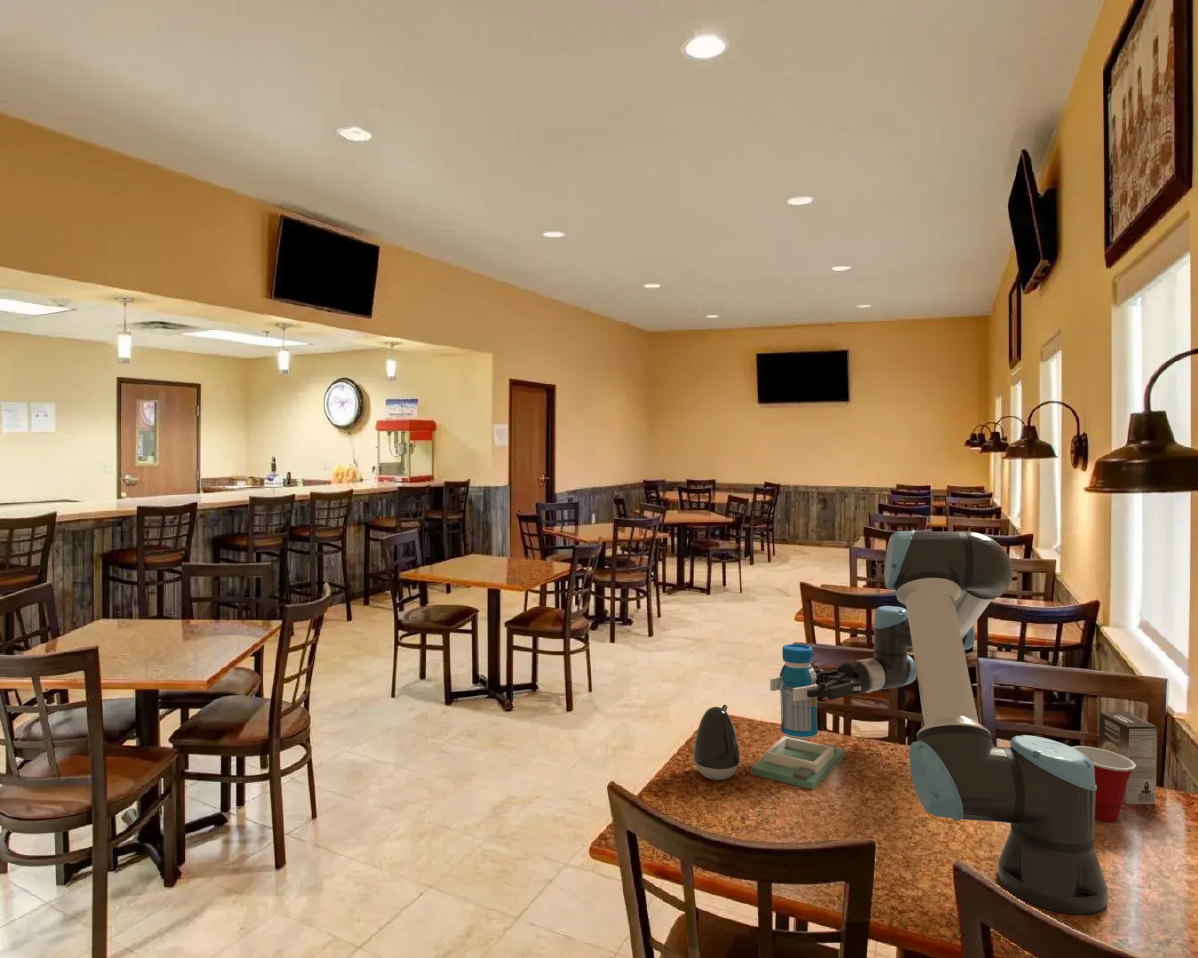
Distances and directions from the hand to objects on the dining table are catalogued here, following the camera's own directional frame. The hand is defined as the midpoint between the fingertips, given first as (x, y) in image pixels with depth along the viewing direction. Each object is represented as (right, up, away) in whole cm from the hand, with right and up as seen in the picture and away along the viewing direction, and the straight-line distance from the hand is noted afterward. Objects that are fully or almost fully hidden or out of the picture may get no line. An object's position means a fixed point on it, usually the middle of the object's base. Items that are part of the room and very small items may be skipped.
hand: (782, 689), depth 168 cm
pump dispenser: (-15, -18, -3) cm, 24 cm away
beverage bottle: (+5, -11, +3) cm, 12 cm away
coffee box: (+68, -18, -13) cm, 72 cm away
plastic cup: (+57, -19, -23) cm, 64 cm away
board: (+4, -18, +2) cm, 19 cm away
